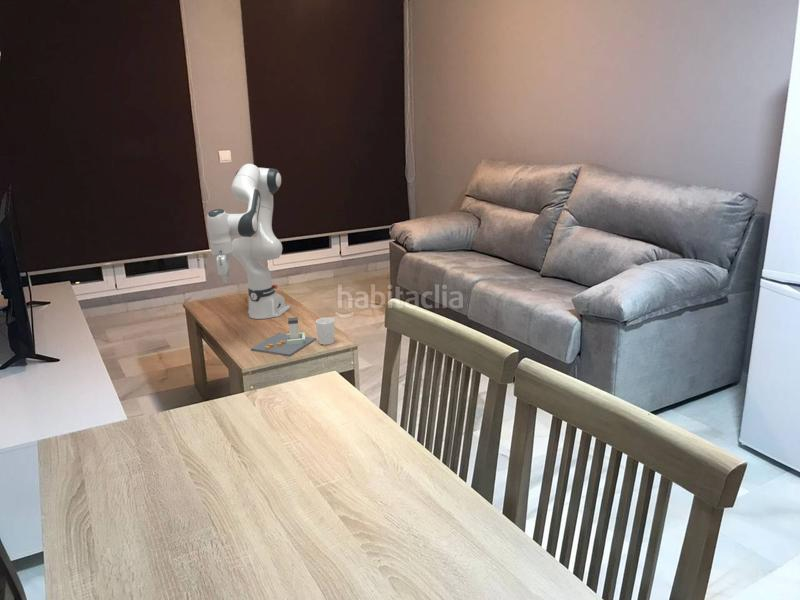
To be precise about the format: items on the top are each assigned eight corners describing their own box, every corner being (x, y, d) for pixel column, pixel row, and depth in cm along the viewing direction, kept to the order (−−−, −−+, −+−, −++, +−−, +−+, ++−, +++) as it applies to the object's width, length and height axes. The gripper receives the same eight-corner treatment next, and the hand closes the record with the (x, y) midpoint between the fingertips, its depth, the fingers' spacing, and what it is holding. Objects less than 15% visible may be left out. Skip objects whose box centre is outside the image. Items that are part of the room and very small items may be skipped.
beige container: (290, 339, 286) (288, 318, 283) (299, 338, 287) (297, 317, 284) (290, 342, 282) (288, 321, 279) (299, 342, 283) (297, 320, 280)
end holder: (287, 345, 280) (287, 340, 279) (287, 338, 288) (286, 333, 288) (305, 343, 281) (305, 339, 280) (304, 336, 289) (304, 332, 289)
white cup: (325, 337, 289) (324, 316, 286) (339, 340, 284) (337, 319, 281) (313, 343, 283) (311, 321, 280) (327, 346, 278) (325, 324, 275)
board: (278, 334, 295) (278, 330, 295) (316, 339, 287) (315, 335, 286) (251, 350, 278) (250, 345, 278) (290, 356, 270) (289, 351, 269)
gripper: (227, 253, 267) (232, 285, 272) (231, 242, 286) (235, 272, 291) (211, 255, 266) (216, 287, 271) (216, 243, 285) (221, 274, 290)
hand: (226, 279), depth 281 cm, fingers open, 8 cm apart
